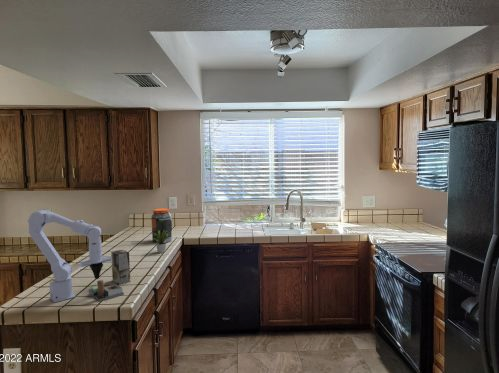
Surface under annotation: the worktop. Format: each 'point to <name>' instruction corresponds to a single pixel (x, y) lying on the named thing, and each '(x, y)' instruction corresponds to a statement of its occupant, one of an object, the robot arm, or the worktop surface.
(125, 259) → the coffee box
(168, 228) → the jar with orange lid
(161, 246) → the house plant
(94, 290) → the on button
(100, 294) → the walnut stylus
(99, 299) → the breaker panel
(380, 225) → the worktop surface
